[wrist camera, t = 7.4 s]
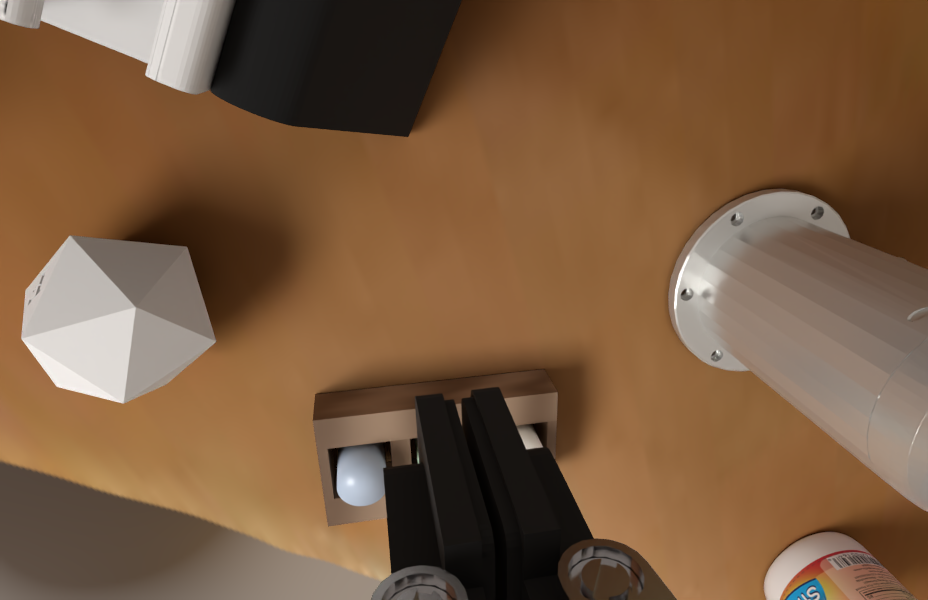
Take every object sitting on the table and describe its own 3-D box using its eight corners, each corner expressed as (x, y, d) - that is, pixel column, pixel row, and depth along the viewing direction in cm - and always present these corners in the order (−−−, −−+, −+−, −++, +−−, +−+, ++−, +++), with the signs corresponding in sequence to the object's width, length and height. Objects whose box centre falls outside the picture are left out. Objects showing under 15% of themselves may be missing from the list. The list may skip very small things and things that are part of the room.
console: (544, 368, 42) (557, 392, 39) (541, 466, 45) (554, 494, 42) (315, 394, 39) (312, 420, 37) (329, 495, 43) (328, 526, 40)
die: (200, 196, 34) (13, 203, 26) (278, 329, 34) (111, 382, 25) (129, 273, 38) (-55, 301, 30) (197, 394, 37) (28, 459, 29)
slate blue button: (382, 428, 40) (385, 462, 37) (386, 466, 41) (389, 502, 38) (335, 434, 40) (334, 468, 36) (340, 472, 41) (339, 509, 38)
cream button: (533, 410, 42) (548, 441, 38) (532, 447, 43) (547, 480, 40) (489, 415, 41) (500, 447, 38) (489, 453, 42) (501, 487, 39)
